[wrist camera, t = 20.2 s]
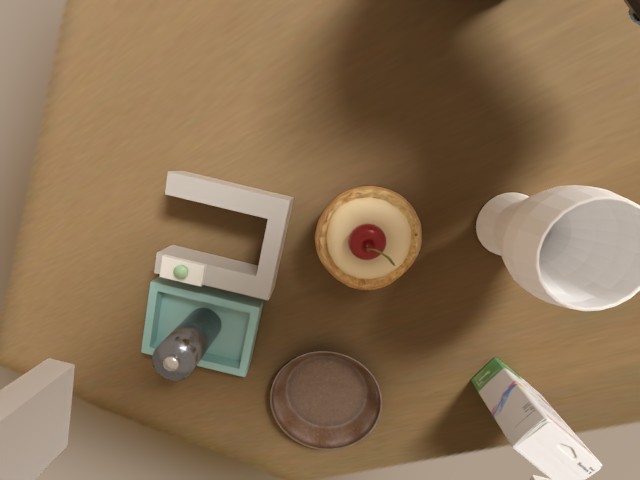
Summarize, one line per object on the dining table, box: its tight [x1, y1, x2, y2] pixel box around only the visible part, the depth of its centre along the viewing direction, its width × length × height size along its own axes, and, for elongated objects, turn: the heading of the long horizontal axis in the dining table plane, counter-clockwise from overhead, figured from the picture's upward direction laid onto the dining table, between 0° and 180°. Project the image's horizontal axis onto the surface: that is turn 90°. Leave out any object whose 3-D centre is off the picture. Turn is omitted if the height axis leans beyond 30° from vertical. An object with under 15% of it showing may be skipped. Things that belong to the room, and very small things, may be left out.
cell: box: [152, 308, 221, 381], centre depth 42 cm, size 5×5×10 cm
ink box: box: [471, 358, 602, 480], centre depth 41 cm, size 8×5×12 cm, turn 50°
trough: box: [141, 277, 264, 377], centre depth 46 cm, size 10×14×2 cm
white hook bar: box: [154, 171, 294, 300], centre depth 42 cm, size 12×14×5 cm
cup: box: [476, 185, 640, 311], centre depth 35 cm, size 11×11×15 cm
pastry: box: [315, 186, 422, 290], centre depth 40 cm, size 12×12×9 cm
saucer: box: [270, 351, 382, 450], centre depth 48 cm, size 15×15×3 cm
